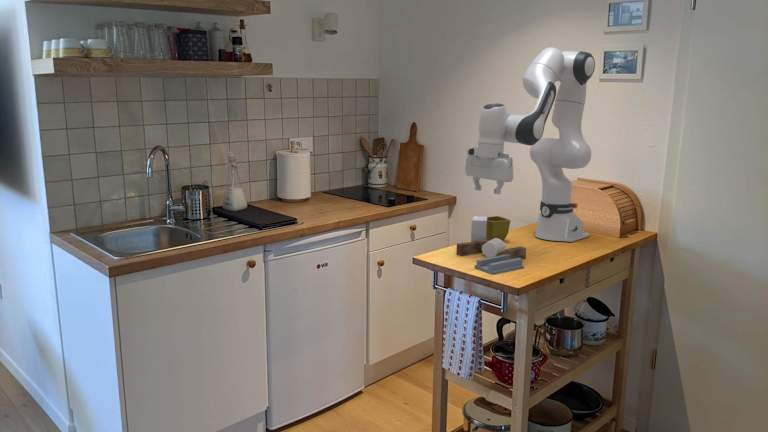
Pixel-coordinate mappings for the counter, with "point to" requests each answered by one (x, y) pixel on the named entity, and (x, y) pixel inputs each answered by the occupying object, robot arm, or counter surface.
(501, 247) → the roll
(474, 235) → the small box
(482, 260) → the cradle
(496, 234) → the flower pot
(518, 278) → the counter surface
